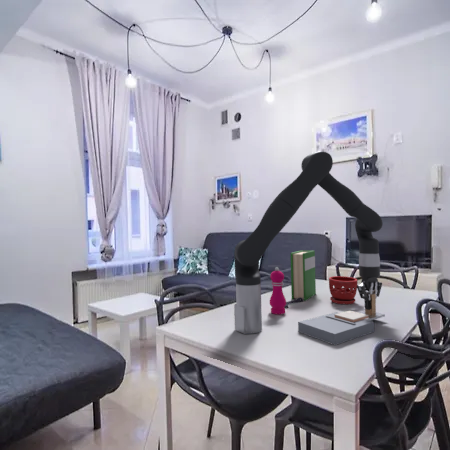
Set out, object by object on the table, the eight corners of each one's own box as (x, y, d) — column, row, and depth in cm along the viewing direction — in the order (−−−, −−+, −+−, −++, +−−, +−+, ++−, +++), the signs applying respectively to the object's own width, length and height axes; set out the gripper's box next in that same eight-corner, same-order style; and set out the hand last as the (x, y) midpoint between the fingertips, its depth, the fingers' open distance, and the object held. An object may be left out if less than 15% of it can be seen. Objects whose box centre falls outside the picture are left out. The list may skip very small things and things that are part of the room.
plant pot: (329, 305, 150) (328, 279, 150) (329, 298, 163) (328, 275, 163) (359, 306, 146) (358, 280, 146) (357, 300, 158) (356, 276, 158)
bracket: (311, 305, 152) (311, 300, 152) (285, 309, 146) (285, 303, 146) (294, 299, 165) (294, 294, 165) (269, 303, 160) (269, 297, 160)
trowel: (363, 322, 116) (362, 298, 116) (346, 318, 122) (346, 295, 122) (384, 316, 124) (384, 293, 124) (368, 312, 129) (368, 290, 129)
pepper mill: (273, 309, 144) (272, 265, 144) (288, 311, 141) (287, 266, 141) (267, 313, 138) (266, 267, 138) (282, 315, 134) (281, 268, 135)
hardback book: (305, 300, 160) (304, 253, 160) (291, 299, 164) (290, 252, 164) (315, 293, 175) (314, 250, 175) (302, 292, 179) (301, 250, 179)
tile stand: (335, 344, 101) (334, 332, 101) (298, 331, 114) (298, 320, 114) (374, 331, 112) (373, 320, 112) (336, 320, 125) (336, 311, 125)
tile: (353, 322, 112) (353, 319, 112) (334, 317, 119) (334, 314, 119) (368, 317, 117) (368, 315, 117) (349, 313, 124) (349, 310, 124)
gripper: (367, 267, 118) (368, 313, 118) (388, 264, 125) (389, 307, 125) (349, 265, 124) (350, 309, 124) (371, 262, 131) (371, 304, 131)
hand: (370, 308), depth 124 cm, fingers closed on trowel, 2 cm apart
